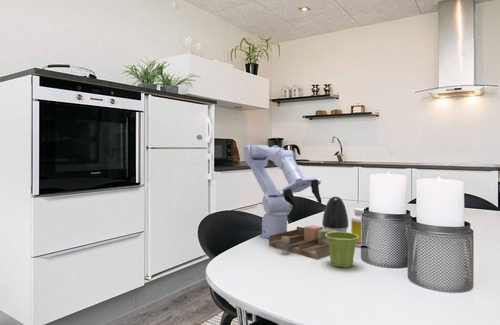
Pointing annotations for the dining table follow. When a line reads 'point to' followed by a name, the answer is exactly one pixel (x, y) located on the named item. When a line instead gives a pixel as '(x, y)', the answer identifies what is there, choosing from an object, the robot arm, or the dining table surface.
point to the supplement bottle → (357, 224)
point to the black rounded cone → (335, 215)
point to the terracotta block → (309, 234)
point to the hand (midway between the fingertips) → (309, 205)
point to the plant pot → (341, 248)
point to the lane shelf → (304, 243)
